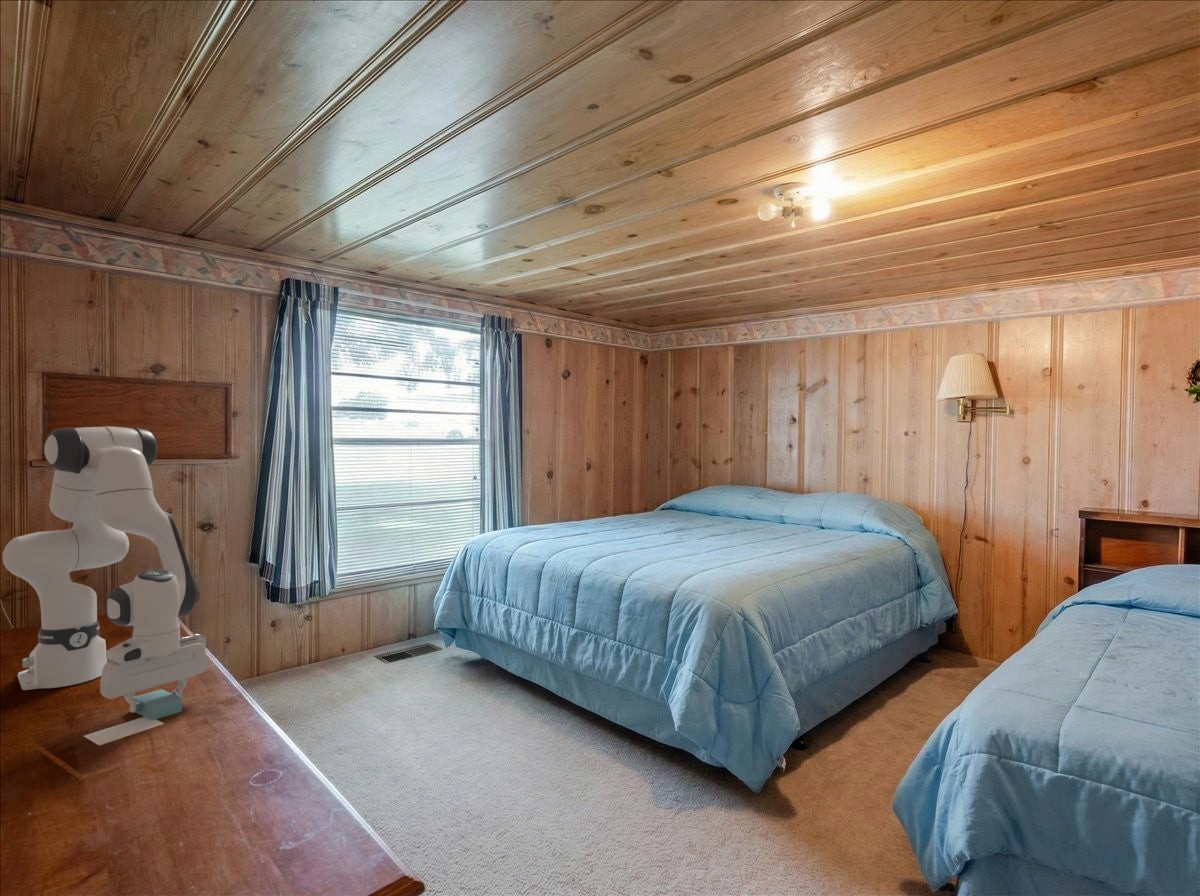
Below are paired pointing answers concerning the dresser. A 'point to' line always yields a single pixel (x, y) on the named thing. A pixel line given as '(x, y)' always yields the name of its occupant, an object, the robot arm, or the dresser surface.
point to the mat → (122, 730)
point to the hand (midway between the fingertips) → (156, 704)
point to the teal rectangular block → (158, 704)
